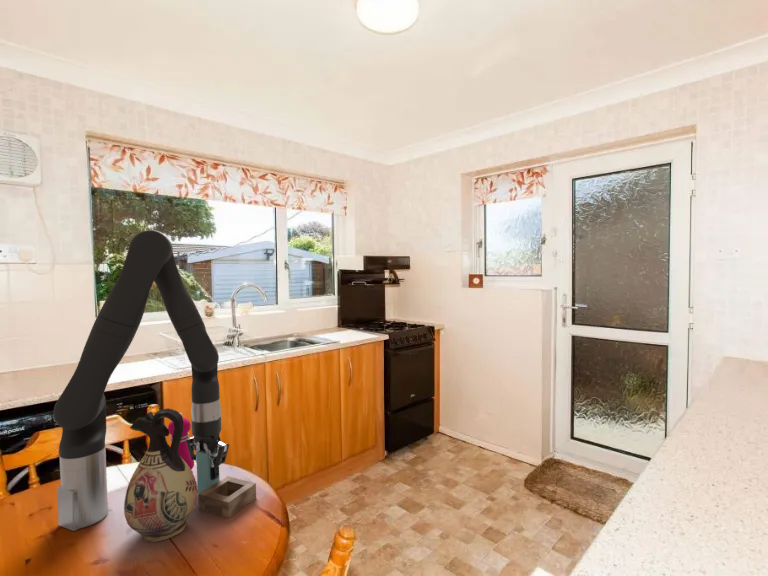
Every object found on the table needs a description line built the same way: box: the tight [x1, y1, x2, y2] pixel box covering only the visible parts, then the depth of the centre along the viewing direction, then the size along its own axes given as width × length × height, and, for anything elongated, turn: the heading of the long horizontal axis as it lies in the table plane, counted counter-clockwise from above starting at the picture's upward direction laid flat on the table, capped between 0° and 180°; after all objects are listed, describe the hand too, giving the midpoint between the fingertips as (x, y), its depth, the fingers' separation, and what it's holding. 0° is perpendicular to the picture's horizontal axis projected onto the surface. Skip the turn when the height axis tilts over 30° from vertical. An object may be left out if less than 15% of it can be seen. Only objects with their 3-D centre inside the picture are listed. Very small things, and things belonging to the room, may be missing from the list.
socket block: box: [198, 475, 257, 519], centre depth 110 cm, size 10×10×4 cm
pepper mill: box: [167, 412, 195, 474], centre depth 123 cm, size 7×7×20 cm
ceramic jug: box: [123, 408, 199, 543], centre depth 98 cm, size 17×15×30 cm
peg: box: [195, 450, 221, 496], centre depth 116 cm, size 4×4×12 cm
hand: (208, 476), depth 116 cm, fingers closed on peg, 4 cm apart
